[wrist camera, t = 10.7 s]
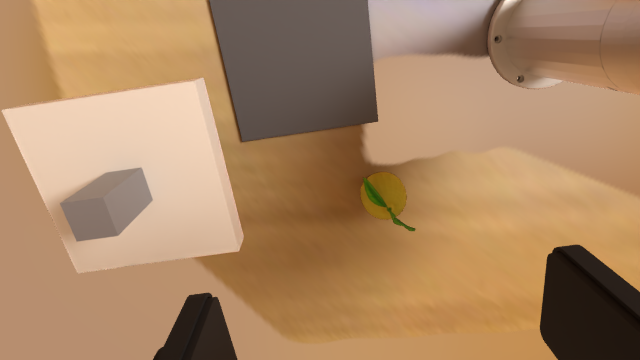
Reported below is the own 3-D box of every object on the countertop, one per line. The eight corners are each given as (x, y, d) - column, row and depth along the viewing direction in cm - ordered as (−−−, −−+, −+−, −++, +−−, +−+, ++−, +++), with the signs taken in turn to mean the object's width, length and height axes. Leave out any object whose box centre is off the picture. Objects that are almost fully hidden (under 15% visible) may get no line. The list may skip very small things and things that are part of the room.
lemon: (402, 204, 49) (422, 243, 40) (359, 208, 50) (369, 249, 40) (400, 157, 47) (422, 187, 38) (355, 162, 47) (365, 194, 38)
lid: (203, 77, 30) (164, 91, 22) (243, 237, 35) (224, 294, 28) (25, 104, 30) (-76, 128, 22) (92, 257, 36) (30, 320, 28)
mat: (363, -36, 39) (364, -36, 38) (377, 120, 45) (378, 121, 45) (207, -10, 39) (206, -10, 39) (242, 140, 46) (242, 141, 45)
